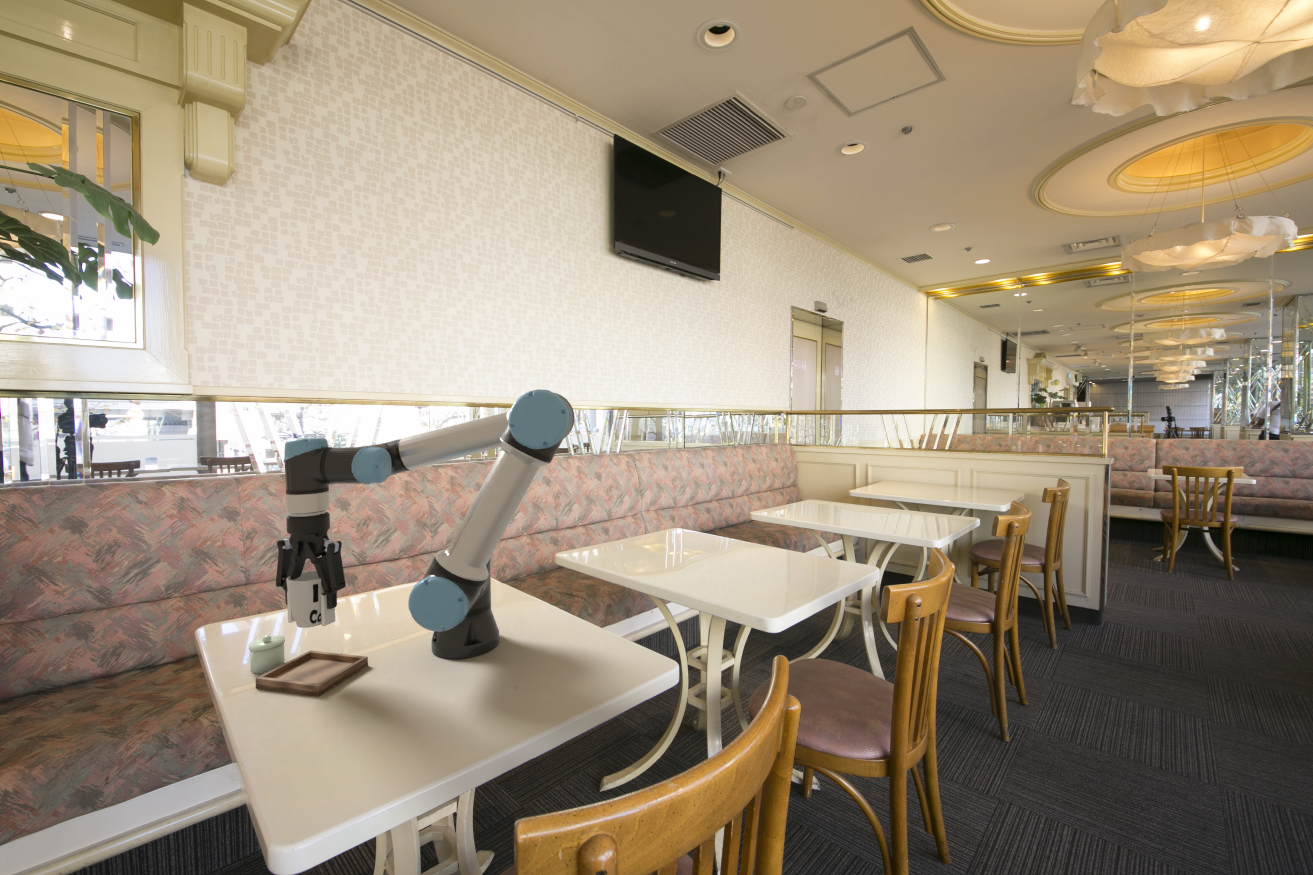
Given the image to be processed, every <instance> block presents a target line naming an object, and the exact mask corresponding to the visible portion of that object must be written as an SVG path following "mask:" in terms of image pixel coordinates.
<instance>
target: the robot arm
mask: <svg viewBox="0 0 1313 875" xmlns="http://www.w3.org/2000/svg"><path fill="white" fill-rule="evenodd" d="M574 425H575V412H574V409H573V407H572V405H571V403H570V402H569V401H568V399H567V398H566V397H564V396H563V395H561V394H559V393H557V392H553V391H551V390H549V389H534V390H531V391H528V392H525V393H524V394H523V395H521V396H519V397H518V398H517V399H516V400H515V401H514V403H513V404H512V406H511V407H510V408H509V410H508V411H505V412H503V413H497V414H494V415H489V416H486V417H482V418H477V419H475V420H474V419H473V420H470V421H466V422H462V423H459V424H454V425H450V426H446V427H443V428H439V429H434V430H429V431H426V432H423V433H418V434H415V435H411V436H407V437H404V438H400V439H395V440H391V441H388V442H382V443H377V444H371V445H363V446H356V447H354V446H352V447H351V446H350V447H349V446H347V447H346V446H345V447H332V446H330V445H329V444H328V440H327V438H324V437H296V438H295V437H294V438H290V439H287V440H286V441H285V443H284V458H283V463H284V475H285V512H286V513H287V514H288V515H287V516H286V532H287V534H289V535H290V536H289V537H287V538H283V539H280V540H279V539H278V540H277V541H276V545H277V550H278V556H277V565H276V577H275V586H276V587H277V588H280V587H281V589H283V591H284V597H285V600H284V601H285V604H286V606H287V623H289V624H292V623H294V622H295V620H294V617H293V615H292V611H291V607H290V603H289V598H288V589H287V580H286V579H287V578H288V577H289V576H291V580H295V579H297V578H299V577H300V576H301V574H302V572H303V570H304V567H305V564H306V561H307V559H309V561H310V563H311V564H313V566H314V568H315V570H316V571H317V574H318V576H319V579H320V578H321V585H322V587H323V590H324V593H321V619H322V624H321V627H326V626H329V625H330V624H333V623H335V622H336V607H337V605H338V591H340V590H342V589H344V588H346V586H347V583H346V578H345V577H346V576H345V571H344V564H343V558H342V552H341V551H342V545H343V543H342V541H341V540H337V541H333V540H330V538H329V536H328V532H329V530H330V529H331V518H330V516H331V515H330V512H329V511H328V510H329V509H330V494H329V493H330V485H335V484H340V485H341V484H343V485H345V484H347V485H348V484H351V485H352V484H353V485H354V484H355V485H358V484H359V485H360V484H361V485H370V484H382V483H384V482H386V481H387V480H388V478H389V477H390V476H395V475H398V474H402V473H404V472H408V471H412V470H415V469H416V470H417V469H420V468H423V467H424V468H425V467H429V466H432V465H436V464H440V463H444V462H448V461H451V460H456V459H459V458H463V457H467V456H471V455H476V454H479V453H483V452H487V451H491V450H492V451H493V450H495V449H499V448H501V450H500V452H499V454H498V456H497V457H496V460H495V461H494V463H493V465H492V467H491V468H490V470H489V472H488V474H487V476H486V477H485V480H484V481H483V483H482V485H481V487H480V489H479V491H478V493H477V494H476V496H475V498H474V500H473V501H472V503H471V505H470V507H469V509H468V510H467V512H466V515H465V516H464V518H463V519H462V522H461V524H460V526H459V527H458V529H457V531H456V533H455V535H454V536H453V538H452V540H451V541H450V543H449V545H448V547H447V548H444V549H441V550H439V551H437V553H436V554H435V555H434V558H433V559H432V561H431V562H430V565H429V566H428V568H427V570H426V571H425V574H424V575H423V577H422V578H421V580H418V581H417V583H416V584H414V585H413V588H412V589H411V591H410V593H409V596H408V604H407V605H408V610H409V613H410V614H411V617H412V619H413V620H414V622H415V623H417V625H419V626H420V627H421V628H424V629H425V630H428V631H431V632H433V634H432V638H431V653H433V655H435V656H437V657H440V658H443V659H450V660H451V659H456V660H457V659H466V658H472V657H476V656H479V655H483V654H485V653H488V652H490V651H492V650H493V649H495V648H496V647H497V646H498V645H499V643H500V630H499V628H498V624H497V622H496V619H495V616H494V614H493V610H492V585H491V584H492V582H491V580H492V578H491V576H492V574H491V563H492V560H491V558H492V555H493V553H494V551H495V549H496V547H497V546H498V544H499V543H500V541H501V538H502V537H503V535H504V533H505V532H506V529H507V528H508V527H509V524H510V523H511V521H512V519H513V517H514V515H515V513H516V511H517V510H518V507H519V506H520V504H521V502H522V500H523V498H524V497H525V496H526V493H527V491H528V490H529V487H530V485H531V483H532V482H533V480H534V478H535V476H536V475H537V473H538V471H539V469H540V468H541V467H544V466H547V465H550V464H551V463H552V461H553V458H554V457H555V455H556V453H557V452H558V450H559V448H560V446H561V444H562V443H563V440H564V439H565V438H566V437H568V436H569V434H570V433H571V432H572V431H573V430H572V429H573V428H574ZM330 585H331V587H330Z"/></svg>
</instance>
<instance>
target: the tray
mask: <svg viewBox="0 0 1313 875" xmlns="http://www.w3.org/2000/svg"><path fill="white" fill-rule="evenodd" d="M368 666H369V656H365V655H364V656H363V655H355V654H345V653H338V652H337V653H336V652H330V651H329V652H328V651H319V650H308V651H306V652H305V653H302V654H300V655H299V656H296V657H294V658H293V659H291V660H288V661H287V662H286V661H285V664H283V665H281V666H279V667H277V668H275V669H273V670H271V671H269V672H267V673H262V674H260V675H259V676H257V677H256V678H255V688H256V689H260V690H261V689H262V690H267V691H277V692H285V693H291V694H299V695H306V696H313V697H314V696H315V697H320V696H321V695H324V694H325V693H326V692H328V691H330V690H332V689H333V688H335V687H336V686H338V685H340V684H341V683H343V682H344V681H346V680H347V679H349V678H351V677H352V676H354V675H356V674H357V673H359V672H361V671H362V670H364V669H365V668H367V667H368Z"/></svg>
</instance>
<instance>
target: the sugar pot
mask: <svg viewBox="0 0 1313 875" xmlns="http://www.w3.org/2000/svg"><path fill="white" fill-rule="evenodd" d="M285 642H286V638H285V636H282V635H270V634H269V635H268V634H267V635H264V636H263V637H261V638H257V639H256V640H253V641H251V642H250V643H249V644H248V650H249V659H250V660H249V661H250V672H251V673H252V674H257V675H259V674H260V675H262V674H265V673H267V672H269V671H271V670H273V669H275V668H277V667H279V666H281V665H283V664H285V663H286V661H285V660H286V659H285Z"/></svg>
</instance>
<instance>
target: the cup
mask: <svg viewBox="0 0 1313 875" xmlns="http://www.w3.org/2000/svg"><path fill="white" fill-rule="evenodd" d="M286 580H287V589H288V598H289V603H290V607H291V611H292V615H293V617H294V620H295V621H294V622H295V623H296V627H298V628H300V629H303V628H304V629H305V628H306V629H307V628H314V627H317V626H322V619H321V593H324V590H323V587H322V585H321V578H320V579H319V576H318V574H317V571H316V569H314V570H307V571H302V574H301V576H300V577H299V578H297V579H295V580H291V576H289V577H288V578H287V579H286ZM330 587H331V585H330Z"/></svg>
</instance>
